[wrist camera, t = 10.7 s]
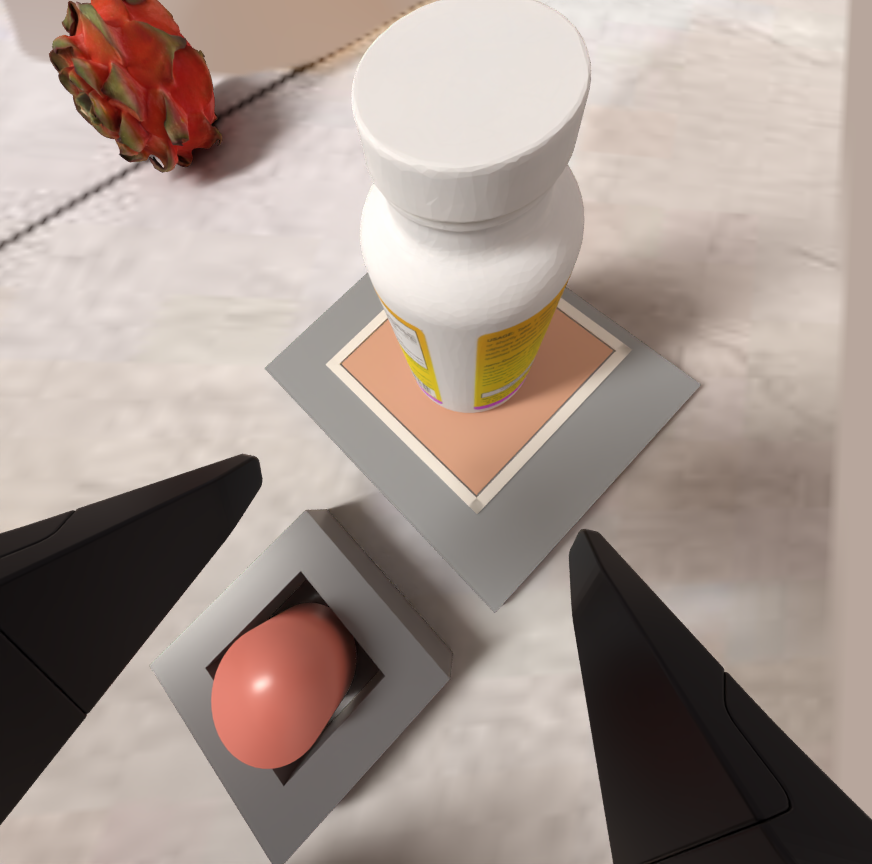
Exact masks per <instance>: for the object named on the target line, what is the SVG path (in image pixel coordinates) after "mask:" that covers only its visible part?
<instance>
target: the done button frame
mask: <svg viewBox="0 0 872 864" xmlns="http://www.w3.org/2000/svg"><path fill="white" fill-rule="evenodd" d="M306 579H308V581H309V582H310V583H311V584H312V586H313V587H314V588H315V589H316V591H317V592H318V593H319V594H320V596H321V597H322V598H323V599H324V601H325V602H326V603H327V604H328V605H329V607H330V608H331V609H332V610H333V612H334V613H335V614H336V615H337V617H338V618H339V619H340V620H341V622H342V623H343V624H344V625H345V627H346V628H347V629H348V630H349V632H350V633H351V634H352V635H353V637H354V638H355V639H356V640H357V642H358V643H359V644H360V645H361V647H362V648H363V649H364V650H365V651H366V653H367V654H368V655H369V656H370V658H371V659H372V660H373V661H374V663H375V664H376V665H377V666H378V668H379V669H380V670H379V672H378V673H377V674H376V675H375V676H374V677H373V678H372V679H371V680H370V681H369V682H368V683H367V685H366V686H365V687H364V688H363V689H362V690H361V691H360V692H359V693H358V694H357V695H356V696H355V698H354V699H353V700H352V701H351V702H350V703H349V704H348V705H347V706H346V707H345V708H344V709H343V710H342V712H341V713H340V714H339V715H338V716H337V717H336V718H335V719H334V720H333V721H332V722H331V723H330V725H329V726H328V727H327V728H326V729H325V730H324V731H323V732H322V733H321V734H320V735H319V737H318V738H317V740H316V741H315V743H314V744H313V745H312V746H311V748H310V749H309V750H308V751H307V752H306V753H305V754H304V755H302V756H301V757H300V758H298V759H297V760H295V761H294V762H292V763H290V764H288V765H285V766H282V767H279V768H273V769H262V768H255V767H252V766H249V765H247V764H245V763H243V762H241V761H240V760H238V759H237V758H236V757H234V756H233V755H232V754H231V753H230V752H229V751H228V750H227V748H226V747H225V745H224V744H223V743H222V741H221V739H220V737H219V735H218V733H217V730H216V728H215V724H214V720H213V716H212V707H211V696H212V687H213V681H214V678H215V674H216V671H217V669H218V666H219V664H220V662H221V660H222V658H223V657H224V655H225V654H226V652H227V651H228V649H229V648H230V647H231V646H232V645H233V643H234V642H235V641H236V640H238V639H239V638H240V637H241V636H242V635H244V634H245V633H247V632H248V631H250V630H252V629H254V628H255V627H257V626H259V625H260V624H262V623H264V622H265V621H266V620H267V619H268V618H269V617H270V616H271V615H272V614H273V613H274V612H275V611H276V610H277V609H278V608H279V607H280V606H281V605H282V604H283V603H284V602H285V601H286V600H287V599H288V598H289V597H290V596H291V595H292V594H293V593H294V591H295V590H296V589H297V588H298V587H299V586H300V585H301V584H302V583H303V582H304V581H305V580H306ZM452 656H453V653H452V652H451V650H450V649H449V648H448V647H447V646H446V645H445V644H444V642H443V641H442V640H441V639H440V638H439V637H438V636H437V634H436V633H435V632H434V631H433V630H432V629H431V628H430V626H429V625H428V624H427V623H426V622H425V621H424V620H423V618H422V617H421V616H420V615H419V614H418V613H417V612H416V610H415V609H414V608H413V607H412V606H411V605H410V604H409V602H408V601H407V600H406V599H405V598H404V597H403V596H402V594H401V593H400V592H399V591H398V590H397V589H396V588H395V586H394V585H393V584H392V583H391V582H390V581H389V580H388V578H387V577H386V576H385V575H384V574H383V573H382V572H381V570H380V569H379V568H378V567H377V566H376V565H375V564H374V562H373V561H372V560H371V559H370V558H369V557H368V556H367V554H366V553H365V552H364V551H363V550H362V549H361V548H360V546H359V545H358V544H357V543H356V542H355V541H354V540H353V538H352V537H351V536H350V535H349V534H348V533H347V532H346V530H345V529H344V528H343V527H342V526H341V525H340V524H339V522H338V521H337V520H336V519H335V518H334V517H333V516H332V514H331V513H330V512H329V511H328V510H327V509H321V510H305V511H304V512H303V513H302V514H301V515H300V516H299V517H298V518H297V519H296V520H295V521H294V522H293V523H292V524H291V525H290V526H289V527H288V528H287V529H286V530H285V531H284V532H283V533H282V534H281V535H280V536H279V537H278V538H277V539H276V540H275V541H274V542H273V543H272V544H271V545H270V546H269V547H268V548H267V549H266V550H265V551H264V552H263V553H262V554H261V555H260V556H259V557H258V558H257V559H256V560H255V561H254V562H253V563H252V564H251V565H250V566H249V567H248V568H247V569H246V570H245V571H244V572H243V573H242V574H241V575H240V576H239V577H238V578H237V579H236V580H235V581H234V582H233V583H232V584H231V585H230V586H229V587H228V588H227V589H226V590H225V591H224V592H223V593H222V594H221V595H220V596H219V597H218V598H217V599H216V600H215V601H214V602H213V603H212V604H211V605H210V606H209V607H208V608H207V609H206V610H205V611H204V612H203V613H202V614H201V615H200V616H199V617H198V618H197V619H195V620H194V621H193V622H192V623H191V624H190V625H189V626H188V627H187V628H186V629H185V630H184V631H183V632H182V633H181V634H180V635H179V636H178V637H177V638H176V639H175V640H174V641H173V642H172V643H171V644H170V645H169V646H168V647H167V648H166V649H165V650H164V651H163V652H162V653H161V654H160V655H159V656H158V657H157V658H156V659H155V660H154V661H153V662H152V663H151V664H150V665H149V666H150V667H151V669H152V671H153V672H154V674H155V676H156V677H157V679H158V680H159V682H160V684H161V685H162V687H163V688H164V690H165V692H166V693H167V695H168V697H169V698H170V700H171V701H172V703H173V705H174V706H175V708H176V710H177V711H178V713H179V714H180V716H181V718H182V719H183V721H184V722H185V724H186V726H187V727H188V729H189V731H190V732H191V734H192V735H193V737H194V739H195V740H196V742H197V743H198V745H199V747H200V748H201V750H202V752H203V753H204V755H205V756H206V758H207V760H208V761H209V763H210V765H211V766H212V768H213V769H214V771H215V773H216V774H217V776H218V777H219V779H220V781H221V782H222V784H223V786H224V787H225V789H226V790H227V792H228V794H229V795H230V797H231V798H232V800H233V802H234V803H235V805H236V807H237V808H238V810H239V811H240V813H241V815H242V816H243V818H244V820H245V821H246V823H247V824H248V826H249V828H250V829H251V831H252V832H253V834H254V836H255V837H256V839H257V841H258V842H259V844H260V845H261V847H262V849H263V850H264V852H265V854H266V855H267V857H268V858H269V860H270V862H271V863H272V864H284V863H285V862H286V861H287V860H288V859H289V858H290V857H291V856H292V854H293V853H294V852H295V851H296V850H297V849H298V848H299V847H300V846H301V844H302V843H303V842H304V841H305V840H306V839H307V838H308V837H309V836H310V834H311V833H312V832H313V831H314V830H315V829H316V828H317V827H318V826H319V824H320V823H321V822H322V821H323V820H324V819H325V818H326V817H327V816H328V814H329V813H330V812H331V811H332V810H333V809H334V808H335V807H336V805H337V804H338V803H339V802H340V801H341V800H342V799H343V798H344V797H345V795H346V794H347V793H348V792H349V791H350V790H351V789H352V788H353V787H354V785H355V784H356V783H357V782H358V781H359V780H360V779H361V778H362V777H363V775H364V774H365V773H366V772H367V771H368V770H369V769H370V768H371V767H372V765H373V764H374V763H375V762H376V761H377V760H378V759H379V758H380V757H381V755H382V754H383V753H384V752H385V751H386V750H387V749H388V748H389V746H390V745H391V744H392V743H393V742H394V741H395V740H396V739H397V738H398V736H399V735H400V734H401V733H402V732H403V731H404V730H405V729H406V728H407V726H408V725H409V724H410V723H411V722H412V721H413V720H414V719H415V718H416V716H417V715H418V714H419V713H420V712H421V711H422V710H423V709H424V708H425V706H426V705H427V704H428V703H429V702H430V701H431V700H432V699H433V697H434V696H435V695H436V694H437V693H438V692H439V691H440V690H441V689H442V687H443V686H444V685H445V684H446V683H447V682H448V681H449V680H450V675H451V665H452Z"/></svg>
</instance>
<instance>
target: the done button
mask: <svg viewBox="0 0 872 864" xmlns="http://www.w3.org/2000/svg"><path fill="white" fill-rule="evenodd" d="M356 661H357V657H356V646H355V642H354V638H353V635H352V634H351V633H350V632H349V630H348V629H347V628H346V627H345V625H344V624H343V623H342V622H341V620H340V619H339V618H338V617H337V615H336V614H335V613H334V612H333V610H332V609H331V608H329V607H327V606H324V605H322V604H318V603H302V604H298V605H295V606H292V607H290V608H288V609H286V610H285V611H283V612H281V613H279V614H278V615H276V616H274V617H273V618H271V619H269V620H267V621H266V622H264V623H262V624H260V625H259V626H257V627H255V628H254V629H252V630H250V631H248V632H247V633H245V634H244V635H242V636H241V637H240V638H239V639H238V640H236V641H235V642H234V643H233V645H232V646H231V647H230V648H229V649H228V651H227V652H226V654H225V655H224V657H223V658H222V660H221V662H220V664H219V666H218V669H217V671H216V674H215V678H214V681H213V687H212V696H211V707H212V716H213V720H214V724H215V728H216V730H217V733H218V735H219V737H220V739H221V741H222V743H223V744H224V745H225V747H226V748H227V750H228V751H229V752H230V753H231V754H232V755H233V756H234V757H236V758H237V759H238V760H240V761H241V762H243V763H245V764H247V765H249V766H252V767H255V768H262V769H273V768H279V767H282V766H285V765H288V764H290V763H292V762H294V761H295V760H297V759H298V758H300V757H301V756H302V755H304V754H305V753H306V752H307V751H308V750H309V749H310V748H311V746H312V745H313V744H314V743H315V741H316V740H317V738H318V737H319V735H320V734H321V732H322V730H323V729H324V727H325V726H326V724H327V723H328V721H329V720H330V718H331V717H332V715H333V713H334V712H335V710H336V709H337V707H338V706H339V704H340V703H341V701H342V699H343V698H344V696H345V695H346V693H347V692H348V690H349V688H350V686H351V684H352V681H353V678H354V674H355V670H356Z"/></svg>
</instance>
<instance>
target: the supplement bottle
mask: <svg viewBox="0 0 872 864" xmlns="http://www.w3.org/2000/svg"><path fill="white" fill-rule="evenodd" d="M590 82H591V62H590V58H589V54H588V50H587V47H586V44H585V42H584V39H583V38H582V36H581V35H580V33H579V32H578V30H577V29H576V27H575V26H574V25H573V24H572V23H571V22H570V21H569V20H568V19H567V18H566V17H565V16H564V15H562V14H561V13H559V12H558V11H557V10H555V9H553V8H551V7H549V6H547V5H545V4H543V3H541V2H538V1H535V0H440V1H436V2H433V3H431V4H428V5H425V6H423V7H420V8H418V9H417V10H415V11H413V12H411V13H409V14H408V15H406V16H404V17H402V18H401V19H399V20H398V21H396V22H395V23H393V24H392V25H391V26H390V27H389V28H388V29H387V30H386V31H384V32H383V33H382V34H381V35H379V36H378V38H377V39H376V40H375V41H374V42H373V43H372V44H371V46H370V47H369V48H368V50H367V51H366V53H365V54H364V55H363V57H362V59H361V61H360V63H359V65H358V67H357V70H356V73H355V77H354V81H353V85H352V97H351V99H352V109H353V115H354V119H355V123H356V127H357V130H358V134H359V137H360V141H361V145H362V149H363V153H364V157H365V162H366V166H367V170H368V172H369V174H370V176H371V178H372V180H373V182H374V183H373V184H372V186H371V189H370V191H369V193H368V196H367V199H366V201H365V204H364V208H363V211H362V217H361V224H360V244H361V251H362V256H363V260H364V263H365V267H366V269H367V272H368V274H369V277H370V279H371V282H372V284H373V286H374V289H375V291H376V293H377V295H378V297H379V299H380V302H381V304H382V306H383V308H384V311H385V313H386V315H387V317H388V319H389V321H390V324H391V326H392V328H393V331H394V333H395V335H396V338H397V340H398V342H399V344H400V347H401V349H402V351H403V353H404V355H405V358H406V360H407V362H408V365H409V367H410V369H411V371H412V374H413V376H414V378H415V380H416V381H417V383H418V385H419V387H420V388H421V389H422V391H423V392H424V393H425V394H426V395H427V396H428V397H429V398H430V399H431V400H432V401H434V402H435V403H437V404H438V405H440V406H442V407H444V408H446V409H449V410H452V411H456V412H462V413H476V412H483V411H487V410H490V409H493V408H495V407H497V406H499V405H501V404H503V403H504V402H506V401H507V400H509V399H510V398H511V397H512V396H513V395H514V394H515V393H516V392H517V391H518V390H519V388H520V387H521V386H522V384H523V383H524V381H525V379H526V377H527V375H528V373H529V370H530V368H531V366H532V363H533V361H534V359H535V357H536V354H537V352H538V350H539V347H540V345H541V342H542V340H543V338H544V336H545V333H546V331H547V329H548V327H549V324H550V322H551V319H552V317H553V315H554V312H555V310H556V308H557V305H558V303H559V301H560V298H561V296H562V294H563V291H564V289H565V287H566V285H567V282H568V280H569V278H570V275H571V273H572V270H573V268H574V265H575V263H576V260H577V257H578V254H579V252H580V248H581V244H582V240H583V231H584V206H583V201H582V196H581V192H580V189H579V186H578V183H577V181H576V179H575V177H574V175H573V173H572V171H571V169H570V167H569V166H568V162H569V160H570V158H571V156H572V153H573V150H574V147H575V143H576V139H577V136H578V132H579V128H580V124H581V120H582V116H583V113H584V109H585V105H586V101H587V97H588V93H589V89H590Z"/></svg>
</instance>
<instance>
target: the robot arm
mask: <svg viewBox="0 0 872 864" xmlns="http://www.w3.org/2000/svg"><path fill="white" fill-rule="evenodd" d="M261 485H262V473H261V468H260V462H259V459H258V458H257V457H255V456H251V455H247V454H240V455H237V456H234V457H231V458H228V459H225V460H222V461H219V462H216V463H213V464H210V465H207V466H204V467H201V468H198V469H195V470H192V471H189V472H186V473H183V474H180V475H177V476H174V477H171V478H168V479H165V480H162V481H159V482H156V483H153V484H150V485H147V486H144V487H141V488H138V489H135V490H132V491H129V492H126V493H123V494H120V495H117V496H114V497H111V498H108V499H105V500H102V501H99V502H96V503H93V504H90V505H87V506H84V507H81V508H78V509H77V510H76V511H74V510H72V511H69V512H66V513H63V514H60V515H57V516H54V517H51V518H48V519H45V520H42V521H39V522H36V523H32V524H29V525H26V526H23V527H20V528H17V529H14V530H10V531H7V532H4V533H0V825H1V824H2V823H3V821H4V820H5V819H6V817H7V816H8V815H9V814H10V812H11V811H12V810H13V809H14V807H15V806H16V805H17V804H18V802H19V801H20V800H21V799H22V797H23V796H24V795H25V793H26V792H27V791H28V790H29V788H30V787H31V786H32V785H33V783H34V782H35V781H36V780H37V778H38V777H39V776H40V774H41V773H42V772H43V771H44V769H45V768H46V767H47V766H48V764H49V763H50V762H51V761H52V759H53V758H54V757H55V756H56V754H57V753H58V752H59V751H60V749H61V748H62V747H63V745H64V744H65V743H66V742H67V740H68V739H69V738H70V737H71V735H72V734H73V733H74V732H75V730H76V729H77V728H78V727H79V725H80V724H81V723H82V721H83V720H84V719H85V718H86V716H87V714H88V713H89V712H90V711H91V710H92V708H93V707H94V706H95V705H96V703H97V702H98V701H99V700H100V698H101V697H102V696H103V695H104V693H105V692H106V691H107V689H108V688H109V687H110V686H111V684H112V683H113V682H114V681H115V679H116V678H117V677H118V676H119V674H120V673H121V672H122V671H123V669H124V668H125V667H126V665H127V664H128V663H129V662H130V660H131V659H132V658H133V657H134V655H135V654H136V653H137V652H138V650H139V649H140V648H141V647H142V645H143V644H144V643H145V641H146V640H147V639H148V638H149V636H150V635H151V634H152V633H153V631H154V630H155V629H156V628H157V626H158V625H159V624H160V623H161V621H162V620H163V619H164V617H165V616H166V615H167V614H168V612H169V611H170V610H171V609H172V607H173V606H174V605H175V604H176V602H177V601H178V600H179V599H180V597H181V596H182V595H183V593H184V592H185V591H186V590H187V588H188V587H189V586H190V585H191V583H192V582H193V581H194V580H195V578H196V577H197V576H198V575H199V573H200V572H201V571H202V569H203V568H204V567H205V566H206V564H207V563H208V562H209V561H210V559H211V558H212V557H213V556H214V554H215V553H216V552H217V551H218V549H219V548H220V547H221V545H222V544H223V543H224V542H225V540H226V539H227V538H228V536H229V535H230V534H231V532H232V531H233V529H234V528H235V527H236V525H237V523H238V522H239V520H240V519H241V517H242V516H243V514H244V513H245V511H246V509H247V508H248V506H249V505H250V503H251V502H252V500H253V499H254V497H255V495H256V494H257V492H258V491H259V489H260V487H261ZM569 570H570V588H571V606H572V618H573V625H574V631H575V637H576V643H577V649H578V655H579V661H580V667H581V673H582V679H583V685H584V691H585V697H586V703H587V709H588V715H589V721H590V727H591V733H592V739H593V745H594V751H595V757H596V763H597V769H598V775H599V781H600V787H601V793H602V799H603V805H604V811H605V817H606V823H607V829H608V835H609V841H610V847H611V853H612V859H613V864H872V819H871V818H869V816H867V815H866V814H865V813H864V812H863V811H862V810H861V809H860V808H859V807H858V806H857V805H856V804H855V803H854V802H853V801H852V800H851V799H850V798H849V797H848V796H847V795H846V794H845V793H844V792H843V791H842V790H841V789H840V788H839V787H838V786H837V785H836V784H835V783H834V782H833V781H832V780H831V779H830V778H829V777H828V776H827V775H826V774H825V773H824V772H823V771H822V770H821V769H820V768H819V767H818V766H817V765H816V764H815V763H814V762H813V761H812V760H811V759H810V758H809V757H808V756H807V755H806V754H805V753H804V752H803V751H802V750H801V749H800V748H799V747H798V746H797V745H796V744H795V743H794V742H793V741H792V740H791V739H790V738H789V737H788V736H787V735H786V734H785V733H784V732H783V731H782V730H781V729H780V728H779V727H778V726H777V725H776V724H775V723H774V721H773V720H772V719H771V718H770V717H769V716H768V715H767V714H766V713H765V712H764V711H763V710H762V709H761V708H760V707H759V706H758V705H757V703H756V702H755V701H754V700H753V699H752V698H751V697H750V696H749V695H748V694H747V693H746V692H745V691H744V690H743V688H742V687H741V686H740V685H739V684H738V683H737V682H736V681H735V680H734V679H733V678H732V677H731V675H730V674H729V673H727V672H724V668H723V667H722V666H721V665H720V664H719V663H718V661H717V660H716V659H715V658H714V657H713V656H712V655H711V654H710V653H709V652H708V651H707V649H706V648H705V647H704V646H703V645H702V644H701V643H700V642H699V641H698V640H697V639H696V637H695V636H694V635H693V634H692V633H691V632H690V631H689V630H688V629H687V628H686V627H685V626H684V624H683V623H682V622H681V621H680V620H679V619H678V618H677V617H676V616H675V615H674V614H673V612H672V611H671V610H670V609H669V608H668V607H667V606H666V605H665V604H664V603H663V602H662V600H661V599H660V598H659V597H658V596H657V595H656V594H655V593H654V592H653V591H652V590H651V588H650V587H649V586H648V585H647V584H646V583H645V582H644V581H643V580H642V579H641V578H640V577H639V575H638V574H637V573H636V572H635V571H634V570H633V569H632V568H631V567H630V566H629V565H628V563H627V562H626V561H625V560H624V559H623V558H622V557H621V556H620V555H619V554H618V553H617V551H616V550H615V549H614V548H613V547H612V546H611V545H610V544H609V543H608V542H607V541H606V539H605V538H604V537H603V536H602V535H601V534H600V533H598V532H596V531H592V530H587V529H582V530H580V532H579V533H578V535H577V537H576V539H575V541H574V543H573V545H572V547H571V549H570V552H569Z"/></svg>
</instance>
